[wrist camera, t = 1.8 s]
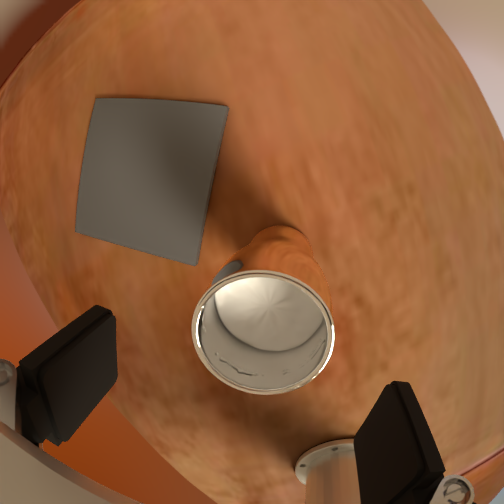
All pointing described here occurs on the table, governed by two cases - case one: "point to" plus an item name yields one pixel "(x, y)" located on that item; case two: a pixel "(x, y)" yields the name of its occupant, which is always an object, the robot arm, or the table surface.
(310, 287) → the beer glass
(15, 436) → the robot arm
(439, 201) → the table surface
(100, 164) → the charcoal mat
